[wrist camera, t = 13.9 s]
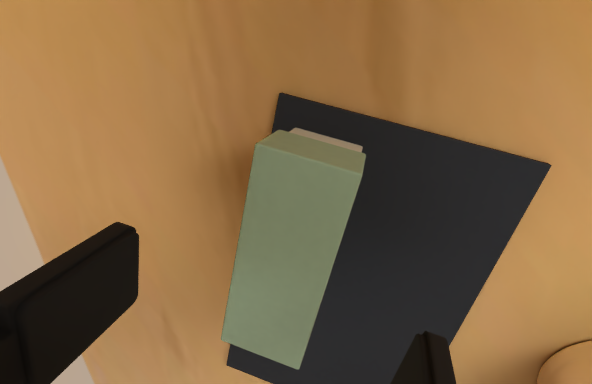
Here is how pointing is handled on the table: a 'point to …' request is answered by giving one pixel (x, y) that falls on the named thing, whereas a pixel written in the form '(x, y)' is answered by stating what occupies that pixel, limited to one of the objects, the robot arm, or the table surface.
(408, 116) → the table surface
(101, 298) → the robot arm
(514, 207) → the desk mat
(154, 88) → the table surface
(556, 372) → the metal cup with straw
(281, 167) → the green and beige block
